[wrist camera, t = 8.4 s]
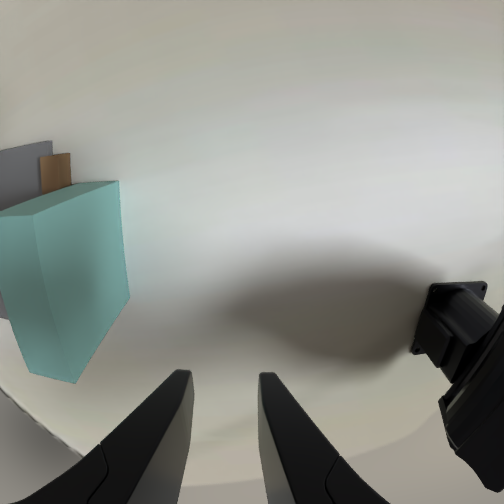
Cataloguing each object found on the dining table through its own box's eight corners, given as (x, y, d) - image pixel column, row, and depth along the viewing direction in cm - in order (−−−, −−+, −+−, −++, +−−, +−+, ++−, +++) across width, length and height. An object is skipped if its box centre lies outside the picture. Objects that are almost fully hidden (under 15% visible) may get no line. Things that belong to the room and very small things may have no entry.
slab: (118, 180, 18) (32, 215, 9) (129, 297, 20) (75, 383, 12) (79, 183, 18) (-15, 217, 9) (93, 294, 20) (29, 372, 12)
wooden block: (69, 152, 17) (57, 154, 16) (91, 317, 21) (83, 328, 20) (52, 155, 17) (40, 157, 16) (75, 315, 21) (66, 325, 20)
